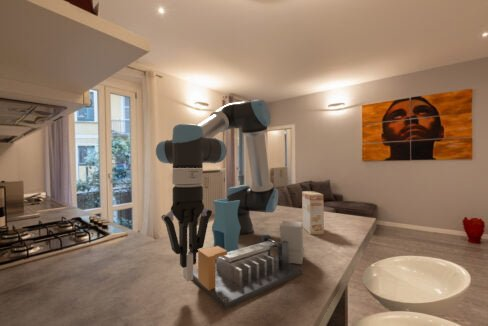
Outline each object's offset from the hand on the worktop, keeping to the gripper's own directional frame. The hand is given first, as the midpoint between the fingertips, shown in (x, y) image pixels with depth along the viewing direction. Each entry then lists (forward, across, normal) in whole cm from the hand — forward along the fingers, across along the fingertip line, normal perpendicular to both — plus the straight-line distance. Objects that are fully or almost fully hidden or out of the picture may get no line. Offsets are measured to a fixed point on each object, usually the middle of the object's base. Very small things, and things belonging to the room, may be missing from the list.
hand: (188, 278), depth 56 cm
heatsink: (+5, +19, 0) cm, 19 cm away
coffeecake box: (+5, +75, +16) cm, 76 cm away
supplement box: (+5, +39, -1) cm, 39 cm away
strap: (-1, +21, 0) cm, 21 cm away
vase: (+5, +24, +19) cm, 31 cm away
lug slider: (+3, +7, 0) cm, 8 cm away
